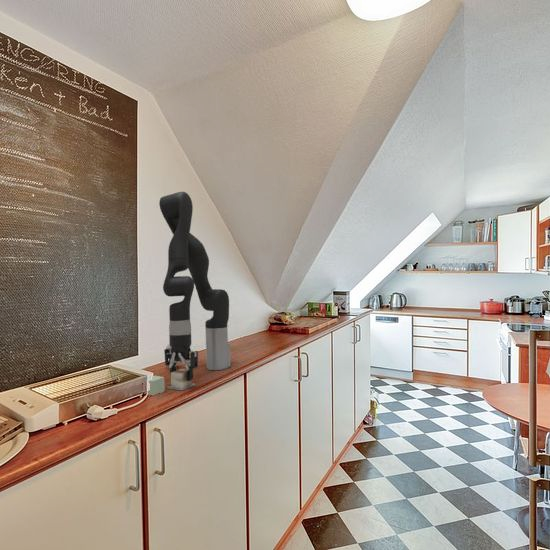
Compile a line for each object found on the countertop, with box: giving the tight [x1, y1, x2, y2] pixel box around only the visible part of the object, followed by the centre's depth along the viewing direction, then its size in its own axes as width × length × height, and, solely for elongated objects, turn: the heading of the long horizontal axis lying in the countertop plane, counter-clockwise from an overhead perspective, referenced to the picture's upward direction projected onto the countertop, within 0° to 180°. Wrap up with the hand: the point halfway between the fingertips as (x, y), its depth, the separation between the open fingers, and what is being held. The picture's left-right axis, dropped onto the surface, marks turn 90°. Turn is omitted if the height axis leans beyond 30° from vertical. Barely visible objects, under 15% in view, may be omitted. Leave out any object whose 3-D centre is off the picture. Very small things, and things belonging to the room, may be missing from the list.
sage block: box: [148, 375, 166, 396], centre depth 119 cm, size 5×5×5 cm
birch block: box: [170, 368, 193, 389], centre depth 125 cm, size 5×5×5 cm
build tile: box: [166, 382, 197, 392], centre depth 125 cm, size 7×7×1 cm
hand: (181, 379), depth 125 cm, fingers open, 7 cm apart
